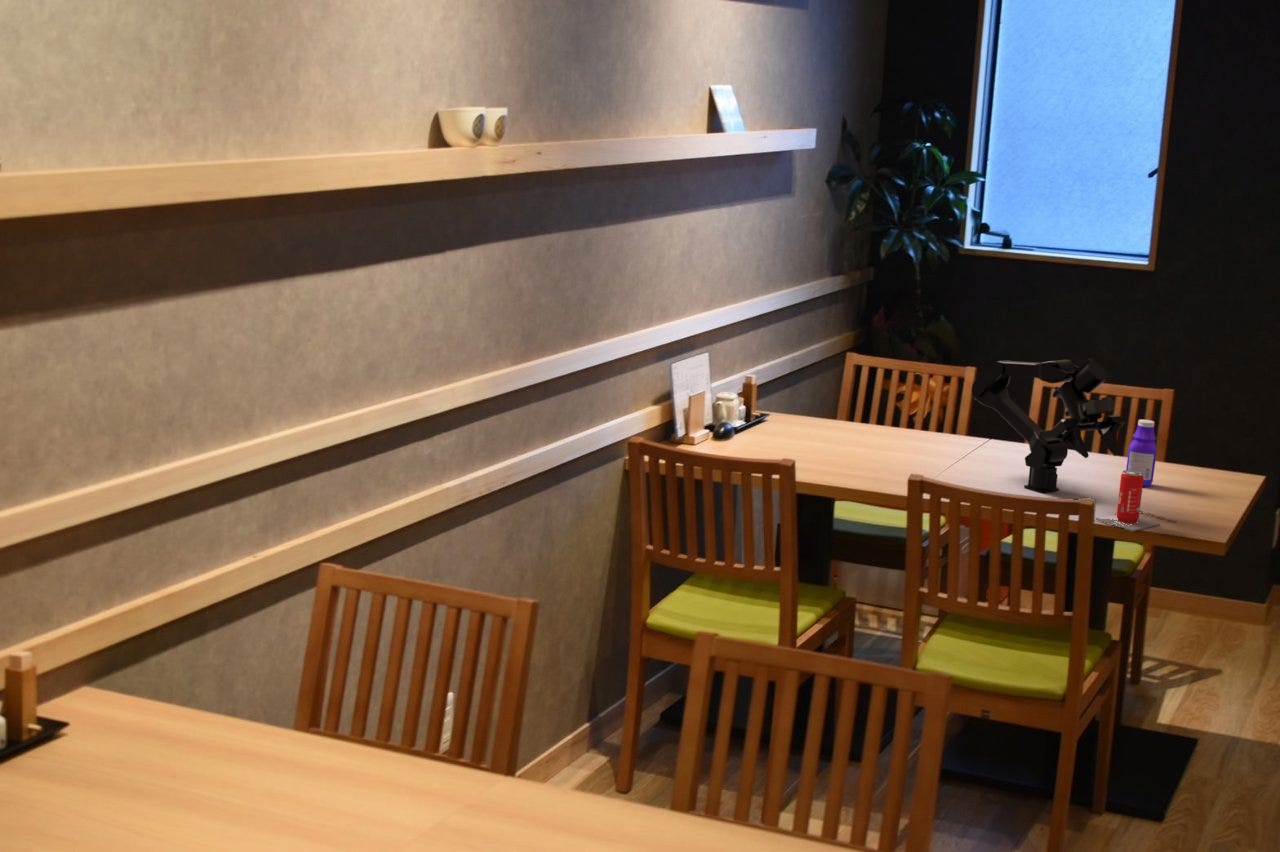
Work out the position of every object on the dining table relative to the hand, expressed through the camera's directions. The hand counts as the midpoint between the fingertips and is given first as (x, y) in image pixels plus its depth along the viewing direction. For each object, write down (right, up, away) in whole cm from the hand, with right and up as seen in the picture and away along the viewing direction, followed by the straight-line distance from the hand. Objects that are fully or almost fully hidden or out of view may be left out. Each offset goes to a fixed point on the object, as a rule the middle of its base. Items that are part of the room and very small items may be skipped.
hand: (1101, 456), depth 377 cm
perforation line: (+12, -15, -1) cm, 19 cm away
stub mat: (+4, -16, -8) cm, 18 cm away
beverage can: (+4, -16, -8) cm, 18 cm away
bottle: (+18, -8, +29) cm, 35 cm away
